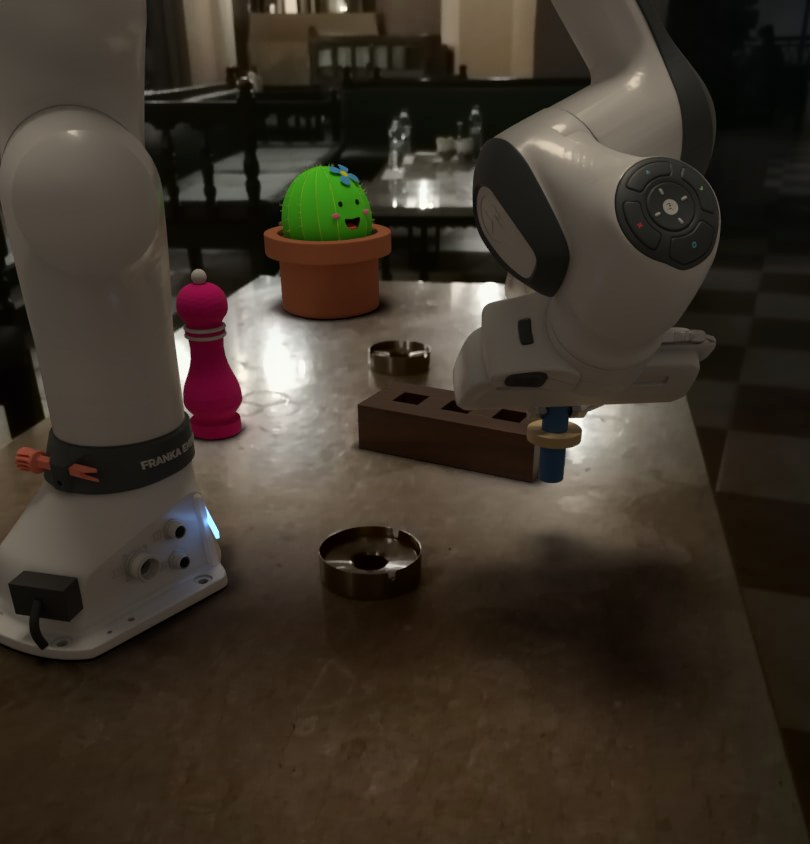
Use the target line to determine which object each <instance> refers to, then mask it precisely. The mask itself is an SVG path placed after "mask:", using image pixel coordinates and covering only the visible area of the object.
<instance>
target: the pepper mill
mask: <svg viewBox="0 0 810 844" xmlns="http://www.w3.org/2000/svg"><path fill="white" fill-rule="evenodd" d="M190 279H191V281H192V282H191V283H188V284H186V285H185V286H183V287H182V288H181V289H180V290H179V292H178V294H177V296H176V301H175V309H176V312H177V315H178V317H179V318H180V319H181V320H182V321H183V322H184V323H185V324H184V325H183V327H182V329H183V330H184V334H183V336H184V338H185V339H186V340H187V341H188V345H189V353H190V356H189V357H190V361H189V368H188V371H187V374H186V378H185V382H184V384H183V389H182V398H183V406H184V408H185V409H186V410H187V411H188V412H189V414H191V415H192V416H191V417H190V422H191V428H192V432H193V434H194V437H195V438H198V439H203V440H223V439H227V438H230V437H233V436H235V435H237V434H239V432H241V430H242V427H243V426H242V418H241V417H242V416H241V415H240V413H239V412H237V411H238V409H239V408H240V407H241V405H242V403H243V392H242V387H241V385H240V382H239V379H238V378H237V376H236V374H235V372H234V371H233V369H232V367H231V366H230V364H229V361H228V358H227V355H226V350H225V343H224V342H225V341H224V340H225V339H224V338H225V337H226V336H227V335H228V332H227V330H226V327H227V324H226V322H225V321H223V320H224V318H225V317H226V316H227V314H228V312H229V311H228V310H229V303H228V298H227V295H226V293H225V292H224V290H222V287H220V286H218V285H217V284H214V283H212V282H207V274H206V272H205V271H204V270H203V269H201V268H196V269H193V271H192V272H191V274H190Z"/></svg>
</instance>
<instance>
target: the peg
mask: <svg viewBox="0 0 810 844" xmlns="http://www.w3.org/2000/svg"><path fill="white" fill-rule="evenodd" d="M569 411H570V406H562V407H547V414H546V416H545V417H544V419H542V420H537V421H534V422H532V423H530V424H529V425H528V427H527V440H528V441H529V442H530V443H532V444H534V445H536V446H539V447H540V454H539V467H538V477H537V479H538V480H539V481H541V482H543V483H546V484H558V483H561V482H563V480H564V475H565V464H566V455H567V454H566V453H567V449H572V448H575V447H577V446H578V445H580V444H581V442H582V437H583V429H582V427H581V426H580V425H579V424H577V423H575V422H572V421H569V420H570V418H569Z"/></svg>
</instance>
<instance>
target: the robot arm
mask: <svg viewBox="0 0 810 844" xmlns="http://www.w3.org/2000/svg"><path fill="white" fill-rule="evenodd" d="M550 2H551V4H552V6H553V8H554V9H555V11H556V12H557V15H558V17H559V18H560V20H561V21H562V24H563V26H564V28H565V29H566V31H567V32H568V35H569V37H570V38H571V40H572V41H573V43H574V45H575V47H576V49H577V51H578V53H579V54H580V56H581V57H582V59H583V61H584V63H585V65H586V67H587V69H588V71H589V75H590V84H589V85H587V86H585V87H584V88H581V89H580V90H578V91H576V92H575V93H573V94H571V95H569V96H567V97H566V98H563V99H562V100H560V101H558V102H556V103H554V104H552V105H551V106H549V107H545V108H542V109H541V110H539V111H537V112H535V113H533V114H532V115H529V116H527V117H526V118H524V119H522V120H520V121H519V122H517V123H515V124H513V125H511V126H510V127H508V128H506V129H505V130H503V131H501V132H500V133H498V134H497V135H495V136H494V137H492V138H491V137H490V138H489V139H488V140H486V142H484V143H483V145H482V147H481V149H480V151H479V153H478V156H477V158H476V162H475V165H474V170H473V177H472V189H471V190H472V192H471V193H472V195H471V198H472V213H473V219H474V223H475V228H476V230H477V232H478V235H479V237H480V239H481V241H482V242H483V244H484V246H485V247H486V248H487V250H488V252H489V253H490V255H491V256H492V257H493V258H494V259H495V261H496V262H497V263H498V264H499V265H500V267H502V268H503V270H505V271H506V272H507V273H508V272H509V273H510V274H511V275H512V276H514V277H515V278H516V279H517V280H519V281H521V282H522V283H524V284H525V285H527V286H528V287H530V288H531V289H533V290H534V291H536V292H533V293H529V294H526V295H522V296H518V297H514V298H510V299H507V298H505V299H500V300H495V301H492V302H489V303H487V304H485V306H484V307H483V308H482V309H481V310H482V311H481V321H480V322H481V325H480V327H478V328H476V329H475V330H473V331H472V332H471V333H469V335H468V336H467V338H466V339H465V341H464V342H463V344H462V346H461V348H460V350H459V352H458V354H457V357H456V359H455V362H454V365H453V368H452V384H453V391H454V395H455V401H456V404H457V406H458V407H460V408H462V409H464V410H488V409H512V408H525V409H526V414H527V419H528V420H542V419H544V417H545V416H546V414H547V407H562V406H570V411H569V419H584V418H585V417H586V415H587V414H588V412H592V411H594V410H597V409H598V408H601V407H603V406H609V405H632V404H633V405H634V404H654V403H655V404H656V403H658V404H660V403H672V402H674V401H677V400H679V399H682V398H684V397H685V396H686V395H687V394H688V393H689V391H690V390H691V388H692V386H693V385H694V383H695V381H696V380H697V377H698V375H699V372H700V369H701V364H700V362H702V361H704V360H706V359H707V358H708V357H709V356H710V355H711V353H712V352H713V351H714V350H715V348H716V345H717V339H716V337H715V336H713V335H710V334H707V333H706V331H705V330H703V329H689V328H686V327H677V326H675V325H676V324H677V322H679V320H680V319H681V317H683V315H684V313H685V312H686V311H687V309H688V307H689V306H690V304H692V303H691V302H692V301H693V300H694V298H695V296H696V295H697V293H698V292H699V289H700V288H701V286H702V284H703V282H704V281H705V279H706V277H707V275H708V273H709V271H710V269H711V267H712V265H713V263H714V261H715V258H716V255H717V252H718V247H719V243H720V238H721V237H720V236H721V235H720V234H721V224H722V219H721V209H720V205H719V201H718V198H717V196H716V192H715V190H714V189H713V188H712V186H711V184H710V183H709V181H708V180H707V179H706V178H705V175H706V173H707V171H708V168H709V166H710V162H711V160H712V156H713V152H714V147H715V142H716V135H717V116H716V110H715V109H716V108H715V105H714V101H713V99H712V96H711V94H710V92H709V89H708V88H707V86H706V84H705V83H704V81H703V79H702V78H701V76H700V75H699V73H698V72H697V71H696V69H695V68H694V67H693V65H692V64H691V62H689V60H688V59H687V58H686V56H685V55H684V54H683V53H682V51H681V50H680V49H679V47H678V46H677V45H676V44H675V42H674V41H673V39H672V38H671V36H670V33H668V31H667V29H666V28H665V26H664V23H663V22H662V20H661V18H660V16H659V15H658V12H657V11H656V8H655V7H654V5H653V3H652V1H651V0H550ZM147 20H148V13H147V0H0V206H1V209H2V210H1V211H2V215H3V219H4V224H5V227H6V232H7V236H8V240H9V245H10V250H11V253H12V257H13V261H14V266H15V270H16V274H17V278H18V282H19V287H20V292H21V295H22V299H23V303H24V308H25V311H26V315H27V319H28V323H29V327H30V331H31V336H32V339H33V343H34V348H35V352H36V357H37V362H38V366H39V371H40V376H41V381H42V387H43V391H44V394H45V400H46V405H47V410H48V415H49V419H50V423H51V427H50V429H49V431H48V438H47V443H46V449H45V451H44V450H41V449H35V448H33V447H30V446H22V447H20V448H19V449H17V451H16V453H15V454H16V455H15V456H14V460H15V461H14V464H15V465H16V468H17V469H19V470H20V471H22V472H23V471H24V472H32V473H33V474H34V475H35V474H36V475H41V474H43V478H44V481H43V482H42V484H41V486H40V487H39V488H38V490H37V491H36V492H35V494H34V495H33V497H32V499H31V500H30V502H29V503H28V505H27V506H26V508H25V509H24V511H23V512H22V513H21V515H20V516H19V518H18V519H17V520H16V522H15V523H14V525H13V526H12V528H11V529H10V530H9V532H8V533H7V535H6V536H5V537H4V539H3V540H2V541H1V543H0V644H2V645H4V646H7V647H8V648H11V649H13V650H17V651H19V652H22V653H25V654H29V655H33V656H36V657H40V658H46V659H52V660H53V659H55V660H66V661H79V660H89V659H90V660H91V659H95V658H97V657H98V656H100V655H103V654H104V653H106V652H108V651H110V650H112V649H114V648H116V647H118V646H119V645H122V644H123V643H125V642H127V641H128V640H131V639H132V638H134V637H136V636H138V635H140V634H142V633H143V632H145V631H147V630H149V629H151V628H153V627H154V626H156V625H158V624H160V623H162V622H164V621H165V620H167V619H169V618H171V617H173V616H174V615H176V614H178V613H180V612H182V611H183V610H185V609H187V608H189V607H191V606H194V605H195V604H197V603H199V602H201V601H202V600H204V599H206V598H207V597H209V596H211V595H213V594H214V593H215V594H216V593H217V592H218V591H220V590H223V588H226V586H227V585H228V584H229V579H228V575H227V572H226V569H225V568H224V566H223V565H222V563H221V561H222V550H221V547H220V544H219V543H218V541H217V540H218V539H220V531H219V529H218V528H217V525H216V524H215V522H214V520H213V518H212V516H211V514H210V512H209V510H208V509H207V507H206V504H205V500H204V496H203V493H202V490H201V487H200V485H199V482H198V479H197V476H196V472H195V468H194V463H193V460H194V458H195V455H196V449H195V436H194V434H193V432H192V428H191V422H190V418H191V417H190V415H189V413H188V412H187V411H185V406H184V402H183V390H182V384H181V378H180V377H181V376H180V370H179V369H180V368H179V362H178V355H177V346H176V340H175V331H174V319H173V318H174V317H173V298H172V284H171V283H172V281H171V269H170V268H171V267H170V254H169V242H168V231H167V221H166V209H165V202H164V191H163V185H162V181H161V180H162V179H161V177H160V173H159V171H158V168H157V167H156V164H155V162H154V161H153V158H152V157H151V155H150V153H149V152H148V151H147V149H146V141H145V139H146V138H145V88H146V87H145V85H146V84H145V82H146V81H145V79H146V40H147V39H146V38H147V27H148V26H147V25H148V21H147Z"/></svg>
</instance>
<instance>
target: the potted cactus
mask: <svg viewBox="0 0 810 844" xmlns="http://www.w3.org/2000/svg"><path fill="white" fill-rule="evenodd" d="M315 164H316V165H312V167H310V165H308V166H307V169H301V170H300V171H301V173H300V174H299V175H298V176H296V177H295V178H294V180H290V182H291V183H288V185H289V187H287V186H286V188H285V189H284V191H286V193H285V195H283V196H282V195H281V197H282V198H284V199H283V202H282V204H281V202H278V203H279V206H280V207H282V208H281V221H280V222H279V226H274V227H271V228H268V229H266V230H264V232H263V242H264V253H265V255H266V256H267V258H269V259H271V260H274V261H277V262H278V263H279V264H278V265H279V277H280V289H281V303H282V307H283V309H284V310H285V311H286V312H288V313H289V314H290V315H294V316H297V317H301V318H307V319H314V320H315V319H316V320H337V319H347V318H353V317H357V316H361V315H365V314H369V313H371V312H373V311H374V310H377V309H378V308H379V305H380V276H379V273H380V272H379V270H380V269H379V259H382V258H384V257H386V256H388V255H390V254H391V252H392V231H391V229H390V228H389V227H387V226H385V225H381V224H377V223H374V222H375V220H376V219H375V218H373V216H372V209H371V206H370V201H369V199H368V197H367V195H366V194H368V191H366V188H364V189H363V188H362V184H360V180H359V178H358V177H357V176H356V175H355V174H353V173H348V172H349V168H348V167H346V166H344V165H341V164H337V166H338V167H339V168H338V167H335V166H334V163H331V164H330V165H323V164H322V163H321V161H320V162H318V164H319V165H318V164H317V163H315ZM365 191H366V192H365Z"/></svg>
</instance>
